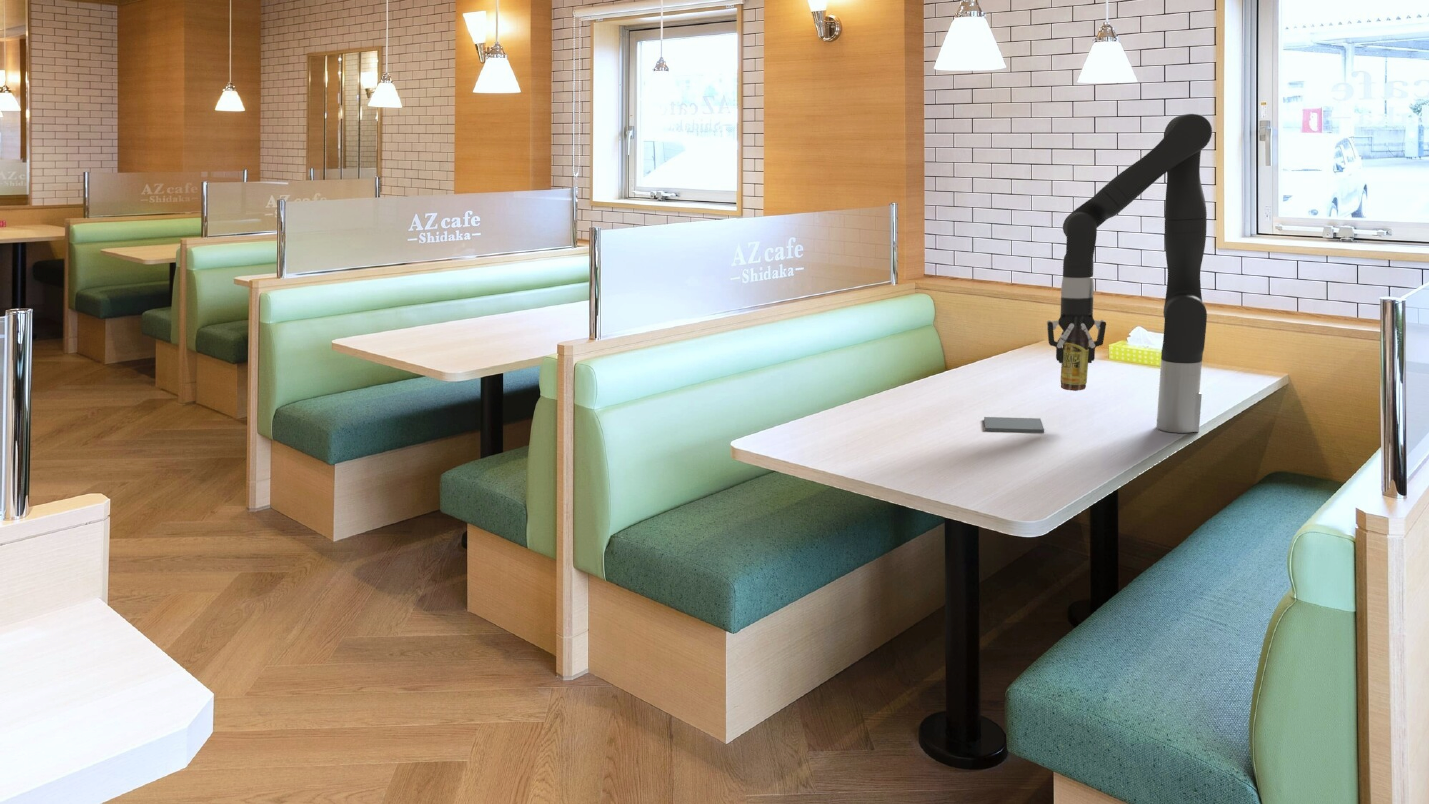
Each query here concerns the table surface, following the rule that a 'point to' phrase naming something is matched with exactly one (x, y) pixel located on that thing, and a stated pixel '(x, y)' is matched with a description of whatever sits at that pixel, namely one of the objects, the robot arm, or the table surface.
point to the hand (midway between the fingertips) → (1074, 362)
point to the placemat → (1013, 424)
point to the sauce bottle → (1075, 357)
